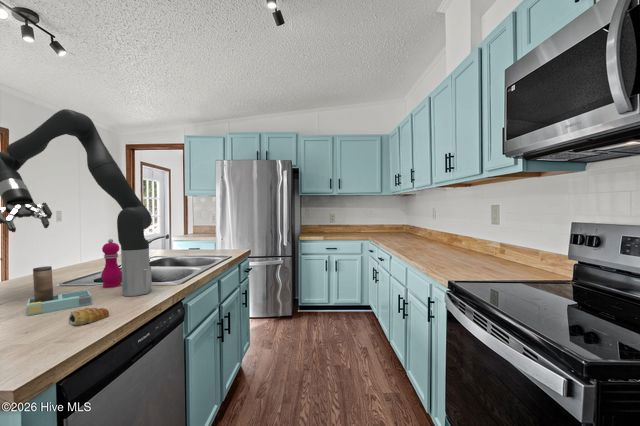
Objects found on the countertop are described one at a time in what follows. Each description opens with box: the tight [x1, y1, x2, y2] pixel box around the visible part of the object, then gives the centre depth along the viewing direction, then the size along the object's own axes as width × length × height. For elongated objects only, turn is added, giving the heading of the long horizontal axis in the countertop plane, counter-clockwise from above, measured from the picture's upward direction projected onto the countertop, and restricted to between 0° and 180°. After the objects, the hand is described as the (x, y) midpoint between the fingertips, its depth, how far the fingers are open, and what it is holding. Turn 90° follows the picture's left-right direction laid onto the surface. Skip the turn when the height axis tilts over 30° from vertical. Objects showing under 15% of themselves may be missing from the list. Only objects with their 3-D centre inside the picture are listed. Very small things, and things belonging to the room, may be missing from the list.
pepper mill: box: [100, 238, 122, 289], centre depth 128 cm, size 7×7×20 cm
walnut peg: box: [32, 265, 54, 302], centre depth 101 cm, size 5×5×13 cm
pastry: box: [68, 307, 110, 326], centre depth 90 cm, size 9×7×4 cm
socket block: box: [26, 289, 92, 317], centre depth 102 cm, size 16×10×3 cm, turn 132°
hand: (31, 228), depth 106 cm, fingers open, 8 cm apart
